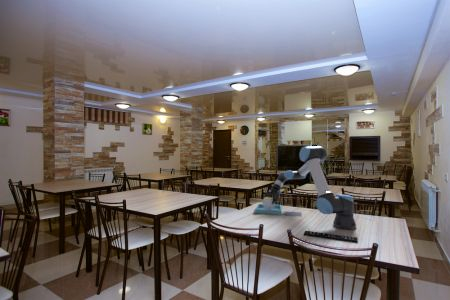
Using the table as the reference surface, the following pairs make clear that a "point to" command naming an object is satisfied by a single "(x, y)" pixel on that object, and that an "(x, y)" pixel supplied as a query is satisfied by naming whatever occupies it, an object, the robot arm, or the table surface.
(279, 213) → the tray
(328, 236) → the black keyboard
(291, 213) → the dock mat
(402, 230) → the table surface
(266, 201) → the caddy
